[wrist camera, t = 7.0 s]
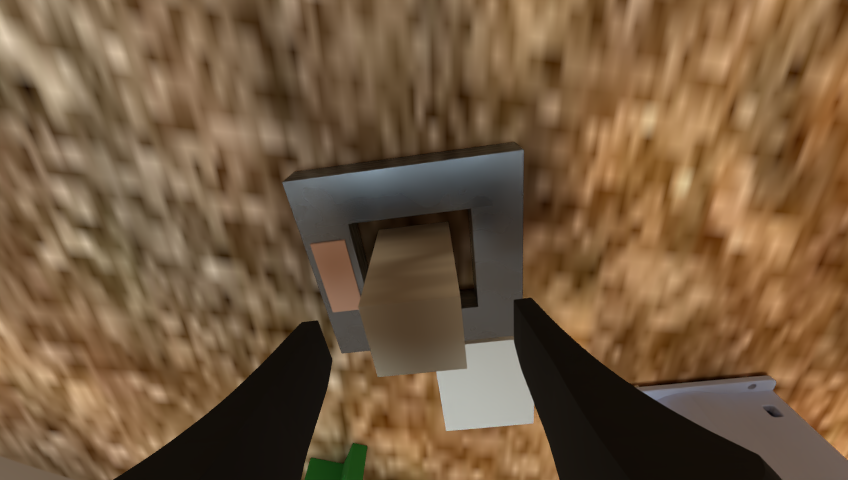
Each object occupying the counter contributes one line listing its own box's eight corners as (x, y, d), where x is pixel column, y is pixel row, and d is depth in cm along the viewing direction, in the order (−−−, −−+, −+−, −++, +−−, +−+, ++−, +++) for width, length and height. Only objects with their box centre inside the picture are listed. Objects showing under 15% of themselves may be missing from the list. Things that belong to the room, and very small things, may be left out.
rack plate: (514, 141, 15) (524, 150, 13) (515, 316, 19) (522, 336, 18) (294, 171, 15) (281, 183, 14) (347, 334, 20) (341, 354, 18)
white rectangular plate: (532, 327, 20) (536, 337, 19) (530, 412, 23) (533, 423, 23) (431, 337, 20) (432, 347, 19) (445, 420, 24) (446, 431, 23)
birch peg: (448, 221, 16) (460, 295, 11) (454, 279, 18) (467, 368, 13) (378, 229, 17) (358, 306, 11) (391, 286, 18) (377, 376, 13)
